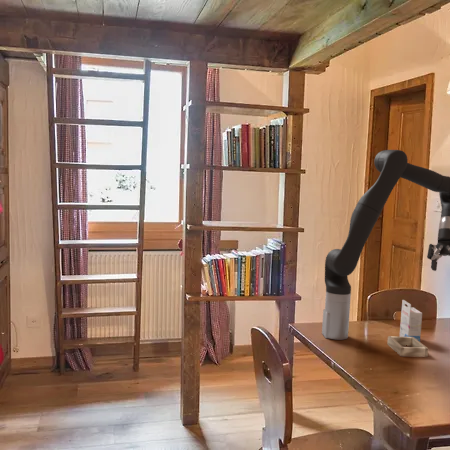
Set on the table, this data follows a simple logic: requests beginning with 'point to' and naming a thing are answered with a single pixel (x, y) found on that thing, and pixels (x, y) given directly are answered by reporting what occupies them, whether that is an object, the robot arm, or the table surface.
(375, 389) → the table surface
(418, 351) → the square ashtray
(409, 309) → the ink box
